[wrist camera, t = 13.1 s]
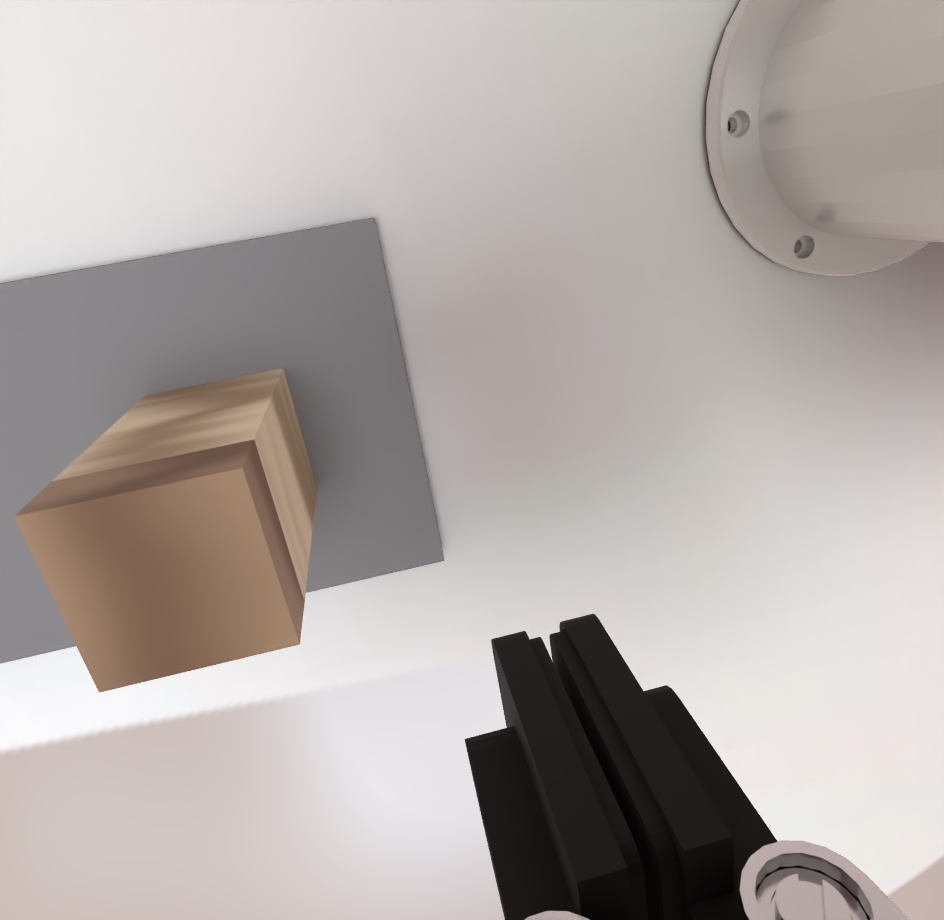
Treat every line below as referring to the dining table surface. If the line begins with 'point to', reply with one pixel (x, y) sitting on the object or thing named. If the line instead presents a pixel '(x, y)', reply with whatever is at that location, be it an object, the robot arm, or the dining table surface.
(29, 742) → the dining table surface
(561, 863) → the robot arm
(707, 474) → the dining table surface
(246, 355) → the mat
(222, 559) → the maple block
